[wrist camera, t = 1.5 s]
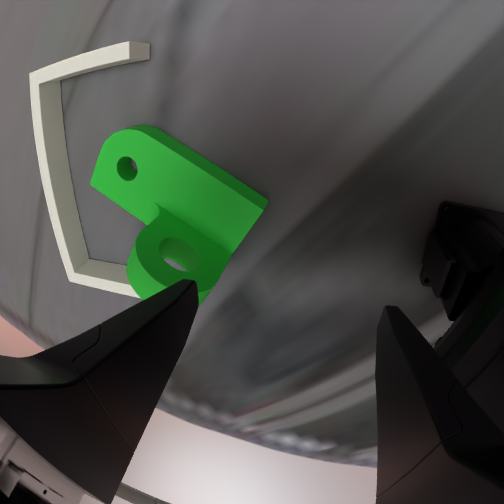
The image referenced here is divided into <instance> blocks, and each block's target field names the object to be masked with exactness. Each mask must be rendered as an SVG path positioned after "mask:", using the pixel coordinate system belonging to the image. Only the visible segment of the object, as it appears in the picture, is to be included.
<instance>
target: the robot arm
mask: <svg viewBox="0 0 504 504" xmlns="http://www.w3.org/2000/svg"><path fill="white" fill-rule="evenodd" d="M446 207H449V210H448V211H447V212H444V210H445V208H446ZM422 264H423V269H422V272H421V275H420V281H421V284H422V285H423V286H429V287H432V289H433V292H434V295H435V296H436V298H437V299H441V300H442V303H443V305H444V308H445V311H446V313H447V316H448V319H449V320H450V321H454V323H453V324H452V325H451V326H450V328H449V329H448V330H447V332H446V333H445V334H444V335H443V337H440V338H439V339H438V340H437V342H436V343H435V347H434V348H432V346H431V345H430V344H429V343H428V341H427V340H426V339H425V338H424V337H423V335H422V334H421V333H420V332H419V331H418V330H417V328H416V327H415V326H414V325H413V324H412V322H411V321H410V320H409V319H408V318H407V317H406V316H405V314H404V313H403V312H402V311H401V310H400V309H399V308H398V307H397V306H388V305H386V306H385V307H384V309H383V312H382V315H381V318H380V321H379V324H378V327H377V345H376V368H375V380H376V399H377V432H378V461H377V493H376V497H377V498H376V504H504V213H500V212H496V211H491V210H487V209H482V208H477V207H473V206H468V205H463V204H458V203H453V202H448V201H446V202H443V203H442V204H441V205H440V207H439V211H438V216H437V220H436V224H435V227H434V229H433V230H432V231H431V232H430V235H429V239H428V243H427V246H426V250H425V253H424V257H423V260H422ZM425 278H428V280H424V279H425ZM198 306H199V297H198V288H197V283H196V281H195V280H191V279H182V280H180V281H178V282H176V283H174V284H173V285H171V286H169V287H167V288H165V289H163V290H161V291H160V292H158V293H156V294H154V295H152V296H150V297H149V298H147V299H145V300H143V301H141V302H139V303H137V304H136V305H134V306H132V307H130V308H128V309H126V310H125V311H123V312H121V313H119V314H117V315H115V316H113V317H112V318H110V319H108V320H106V321H104V322H102V323H101V324H99V325H97V326H95V327H93V328H91V329H89V330H88V331H86V332H84V333H82V334H80V335H78V336H76V337H74V338H71V339H69V340H67V341H65V342H63V343H60V344H58V345H56V346H54V347H51V348H49V349H47V350H45V351H42V352H40V353H38V354H35V355H33V356H30V357H23V358H16V357H9V356H2V355H0V504H79V502H80V501H81V499H82V497H83V495H84V493H85V494H87V495H89V496H91V497H92V498H95V499H96V500H98V501H100V502H102V503H104V504H111V503H112V500H113V498H114V496H115V494H116V492H117V489H118V487H119V485H120V483H121V481H122V478H123V476H124V474H125V472H126V470H127V467H128V465H129V463H130V461H131V459H132V457H133V454H134V452H135V450H136V448H137V445H138V443H139V441H140V439H141V437H142V435H143V432H144V430H145V428H146V426H147V424H148V422H149V420H150V418H151V415H152V413H153V411H154V409H155V407H156V405H157V403H158V401H159V399H160V396H161V394H162V392H163V390H164V388H165V386H166V384H167V382H168V380H169V378H170V376H171V373H172V371H173V369H174V367H175V365H176V363H177V361H178V359H179V357H180V355H181V353H182V351H183V348H184V346H185V344H186V341H187V338H188V335H189V332H190V329H191V327H192V324H193V321H194V318H195V315H196V312H197V309H198Z"/></svg>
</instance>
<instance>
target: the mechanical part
mask: <svg viewBox="0 0 504 504" xmlns="http://www.w3.org/2000/svg"><path fill="white" fill-rule="evenodd" d="M130 158H132V159H133V160H134V161H135V163H136V165H137V169H138V172H136V171H134V170H133V168H132V166H131V163H130ZM90 185H91V186H93V187H94V188H96V189H97V190H98V191H100V192H101V193H103V194H104V195H105V196H107V197H108V198H110V199H111V200H112V201H114V202H115V203H117V204H118V205H120V206H121V207H122V208H124V209H125V210H127V211H128V212H129V213H131V214H132V215H134V216H135V217H137V218H138V219H140V220H141V221H142V222H144V223H145V224H146V225H147V226H146V227H145V228H144V229H143V230H142V231H141V232H140V233H139V235H138V237H137V239H136V241H135V244H134V246H133V249H132V251H131V254H130V256H129V259H128V261H127V266H126V272H127V277H128V280H129V283H130V285H131V287H132V288H133V290H134V291H135V292H136V294H137V295H138V296H139V297H140V298H141V299H142V300H145V299H147V298H149V297H150V296H152V295H154V294H156V293H158V292H160V291H161V290H163V289H165V288H167V287H169V286H171V285H173V284H174V283H176V282H178V281H180V280H182V279H191V280H195V281H196V283H197V288H198V297H199V306H200V304H201V303H202V302H203V301H204V299H205V298H206V297H207V295H208V294H209V292H210V291H211V290H212V288H213V287H214V286H215V284H216V283H217V281H218V279H219V278H220V276H221V274H222V272H223V270H224V268H225V267H226V265H227V263H228V261H229V259H230V257H231V256H232V254H233V252H234V251H235V250H236V248H237V247H238V246H239V244H240V243H241V241H242V240H243V239H244V237H245V236H246V234H247V233H248V232H249V230H250V229H251V228H252V226H253V225H254V223H255V222H256V221H257V219H258V218H259V217H260V215H261V214H262V212H263V211H264V209H265V207H266V205H267V203H268V201H269V200H268V199H266V198H265V197H263V196H262V195H260V194H259V193H257V192H256V191H254V190H253V189H251V188H250V187H248V186H247V185H245V184H244V183H242V182H241V181H239V180H238V179H236V178H235V177H233V176H232V175H230V174H229V173H227V172H226V171H224V170H223V169H221V168H220V167H218V166H216V165H215V164H213V163H212V162H210V161H209V160H207V159H206V158H204V157H203V156H201V155H199V154H198V153H196V152H195V151H193V150H192V149H190V148H188V147H187V146H185V145H184V144H182V143H180V142H179V141H177V140H176V139H174V138H172V137H171V136H169V135H167V134H166V133H164V132H163V131H161V130H159V129H157V128H155V127H152V126H148V125H138V126H134V127H130V128H127V129H124V130H121V131H118V132H116V133H114V134H113V135H111V136H110V137H109V138H108V139H107V140H106V142H105V143H104V145H103V147H102V149H101V151H100V154H99V157H98V160H97V163H96V166H95V170H94V173H93V176H92V179H91V183H90ZM163 258H165V259H169V260H172V261H174V262H176V263H178V264H179V265H180V266H181V267H182V268H183V269H184V270H185V271H186V272H184V271H180V270H177V269H175V268H173V267H171V266H170V265H169V264H167V263H166V262H165V261H164V259H163Z"/></svg>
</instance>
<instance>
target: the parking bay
mask: <svg viewBox="0 0 504 504" xmlns="http://www.w3.org/2000/svg"><path fill="white" fill-rule="evenodd" d="M149 59H150V43H142V42H133V41H127V42H123V43H119V44H115V45H111V46H108V47H104V48H100V49H97V50H93V51H90V52H87V53H84V54H80V55H77V56H74V57H71V58H68V59H66V60H63V61H60V62H57V63H54V64H52V65H49V66H47V67H44V68H41V69H39V70H37V71H34V72H32V73H29V74H30V94H31V107H32V117H33V126H34V134H35V142H36V149H37V155H38V161H39V167H40V172H41V178H42V183H43V188H44V192H45V197H46V201H47V206H48V210H49V214H50V218H51V222H52V226H53V229H54V233H55V237H56V240H57V244H58V247H59V250H60V254H61V257H62V260H63V263H64V266H65V270H66V273H67V276H68V278H69V281H70V282H74V283H78V284H82V285H86V286H90V287H94V288H99V289H103V290H107V291H111V292H116V293H120V294H124V295H129V296H133V297H138V298H140V297H139V296H138V295H137V294H136V292H135V291H134V290H133V288H132V287H131V285H130V283H129V280H128V277H127V272H126V265H121V264H115V263H109V262H104V261H98V260H93V259H89V255H88V251H87V248H86V244H85V240H84V236H83V232H82V228H81V223H80V219H79V215H78V210H77V205H76V200H75V195H74V190H73V185H72V180H71V174H70V168H69V161H68V155H67V148H66V140H65V132H64V123H63V113H62V101H61V86H60V80H63V79H67V78H70V77H73V76H77V75H81V74H84V73H88V72H92V71H96V70H100V69H104V68H108V67H113V66H117V65H122V64H127V63H132V62H137V61H143V60H149Z"/></svg>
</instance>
